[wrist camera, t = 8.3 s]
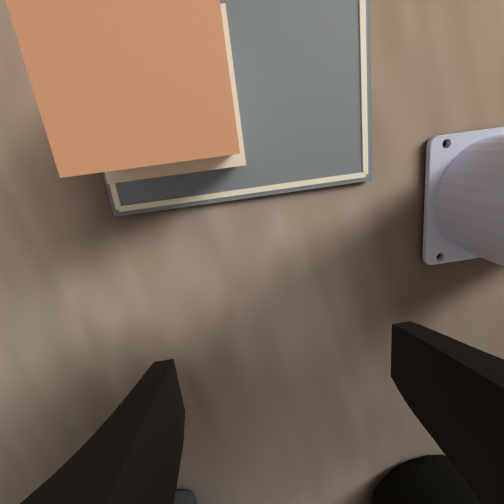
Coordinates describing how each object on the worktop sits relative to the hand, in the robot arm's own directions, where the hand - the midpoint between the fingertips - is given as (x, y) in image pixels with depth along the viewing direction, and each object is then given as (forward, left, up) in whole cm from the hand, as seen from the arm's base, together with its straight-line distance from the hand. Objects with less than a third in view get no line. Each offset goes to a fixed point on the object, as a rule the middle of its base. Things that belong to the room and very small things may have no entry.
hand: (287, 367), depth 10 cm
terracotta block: (+3, -9, -6) cm, 11 cm away
